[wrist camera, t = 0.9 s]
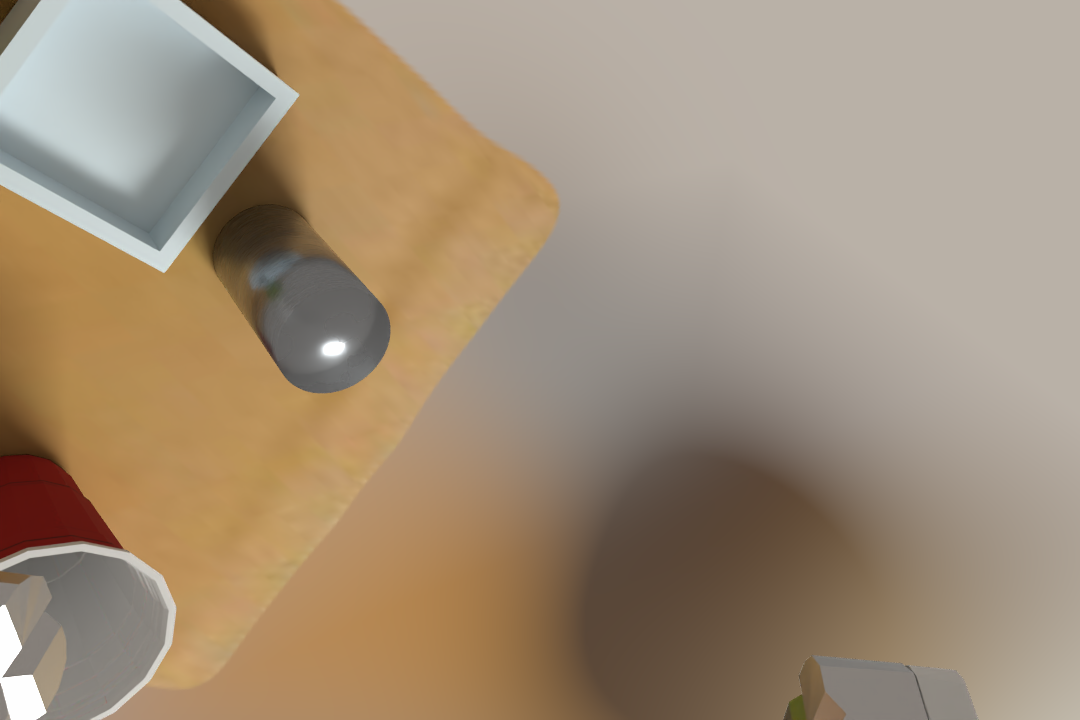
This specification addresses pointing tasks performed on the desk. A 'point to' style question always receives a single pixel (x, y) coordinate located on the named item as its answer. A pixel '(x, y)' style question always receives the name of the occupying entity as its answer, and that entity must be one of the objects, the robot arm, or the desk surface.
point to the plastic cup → (84, 588)
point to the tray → (129, 117)
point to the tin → (301, 299)
